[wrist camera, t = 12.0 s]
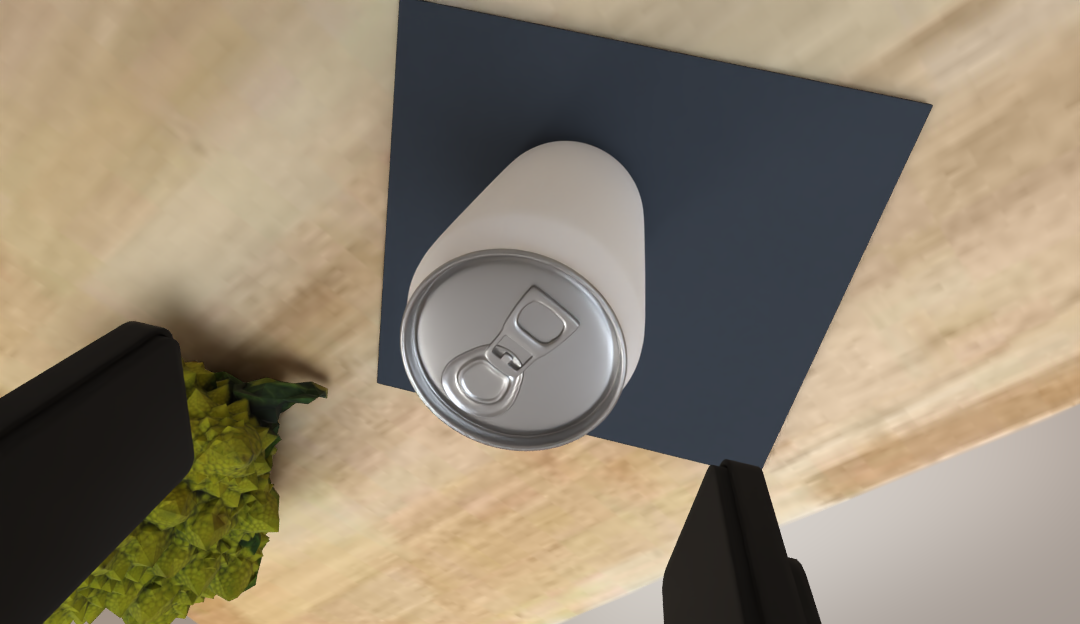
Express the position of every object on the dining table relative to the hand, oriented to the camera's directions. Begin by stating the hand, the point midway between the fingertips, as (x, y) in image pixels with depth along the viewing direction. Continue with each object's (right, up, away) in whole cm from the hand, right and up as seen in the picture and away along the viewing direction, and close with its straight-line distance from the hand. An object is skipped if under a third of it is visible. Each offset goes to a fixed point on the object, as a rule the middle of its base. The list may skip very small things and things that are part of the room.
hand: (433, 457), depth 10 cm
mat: (+5, +5, +16) cm, 17 cm away
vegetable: (-17, -4, +24) cm, 30 cm away
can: (+3, +7, +15) cm, 16 cm away
